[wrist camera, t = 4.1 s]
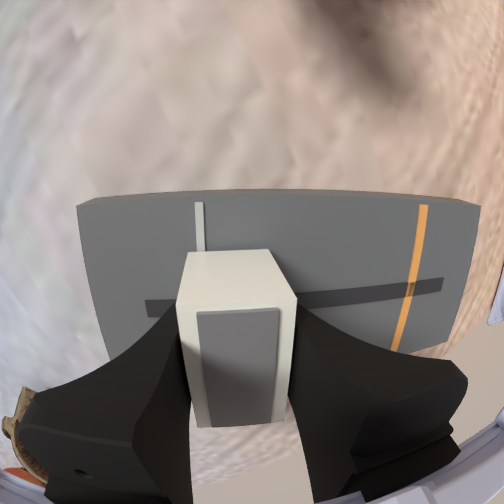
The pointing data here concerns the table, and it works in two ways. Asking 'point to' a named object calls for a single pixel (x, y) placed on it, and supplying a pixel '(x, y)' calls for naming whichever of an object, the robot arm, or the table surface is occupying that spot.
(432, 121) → the table surface
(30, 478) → the apple
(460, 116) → the table surface
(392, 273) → the fader console
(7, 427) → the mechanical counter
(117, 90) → the table surface
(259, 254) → the fader knob
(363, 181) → the table surface
